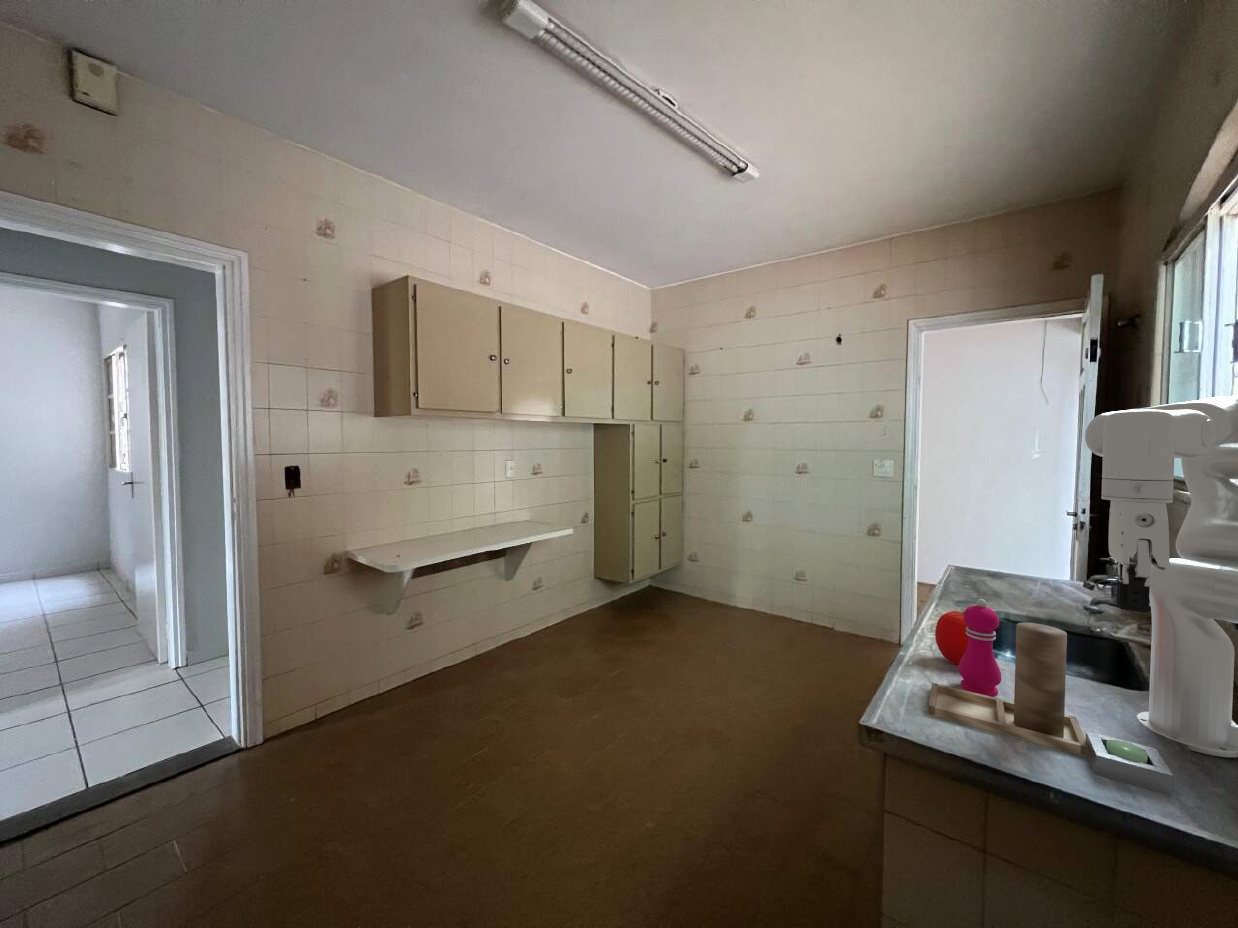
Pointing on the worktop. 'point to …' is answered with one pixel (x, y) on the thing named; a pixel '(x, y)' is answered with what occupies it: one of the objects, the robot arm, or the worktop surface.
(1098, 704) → the worktop surface
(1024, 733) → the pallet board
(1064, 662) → the seated billet
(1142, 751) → the button
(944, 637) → the tomato
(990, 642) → the pepper mill
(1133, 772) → the button box
